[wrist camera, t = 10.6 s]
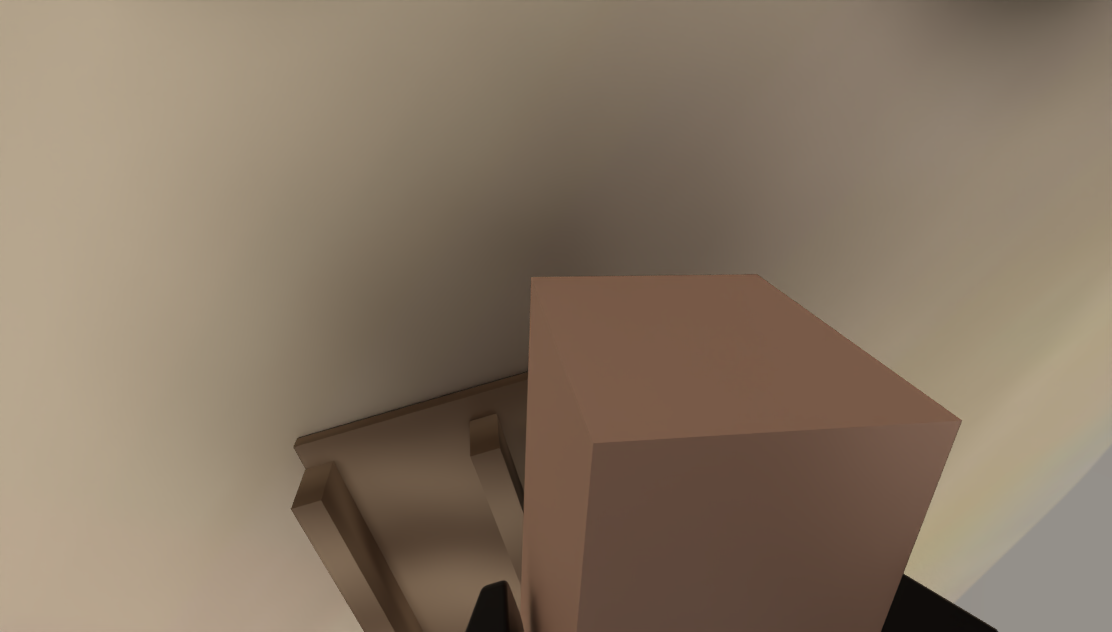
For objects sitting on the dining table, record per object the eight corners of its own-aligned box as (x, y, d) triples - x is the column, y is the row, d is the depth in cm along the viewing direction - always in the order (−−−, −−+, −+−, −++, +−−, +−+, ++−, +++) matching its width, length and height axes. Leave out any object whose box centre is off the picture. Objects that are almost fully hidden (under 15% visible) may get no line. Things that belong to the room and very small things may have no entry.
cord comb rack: (297, 438, 21) (277, 486, 18) (648, 337, 21) (670, 371, 19) (420, 662, 26) (416, 719, 24) (695, 579, 27) (717, 627, 25)
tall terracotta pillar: (531, 277, 8) (592, 443, 5) (756, 274, 9) (961, 420, 5) (517, 690, 12) (547, 962, 8) (679, 668, 13) (771, 914, 9)
